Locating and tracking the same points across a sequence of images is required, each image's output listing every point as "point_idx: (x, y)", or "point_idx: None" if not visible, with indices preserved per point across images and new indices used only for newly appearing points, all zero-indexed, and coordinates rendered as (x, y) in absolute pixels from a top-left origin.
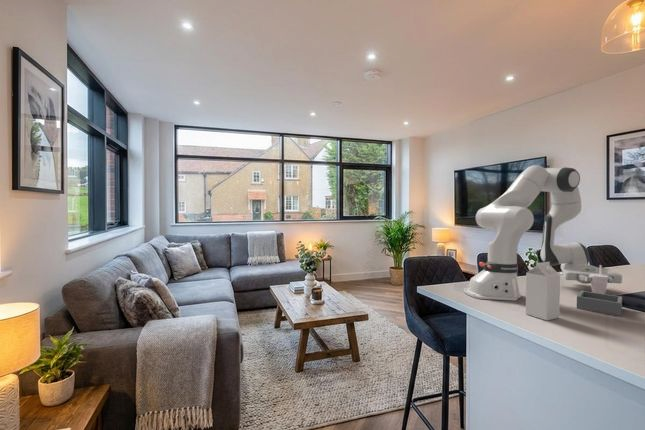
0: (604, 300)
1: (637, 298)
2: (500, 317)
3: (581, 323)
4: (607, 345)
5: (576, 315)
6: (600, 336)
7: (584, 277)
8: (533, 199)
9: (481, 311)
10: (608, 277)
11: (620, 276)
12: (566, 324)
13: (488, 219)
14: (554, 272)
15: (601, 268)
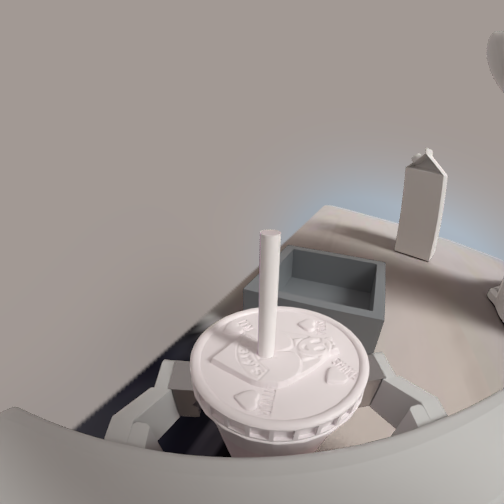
0: (321, 252)
1: None
2: (447, 241)
3: (363, 244)
4: (338, 218)
5: None
6: (342, 226)
7: (394, 384)
8: None
9: (473, 249)
10: (216, 328)
11: (22, 410)
12: (380, 239)
13: None
14: (412, 164)
15: (262, 274)
